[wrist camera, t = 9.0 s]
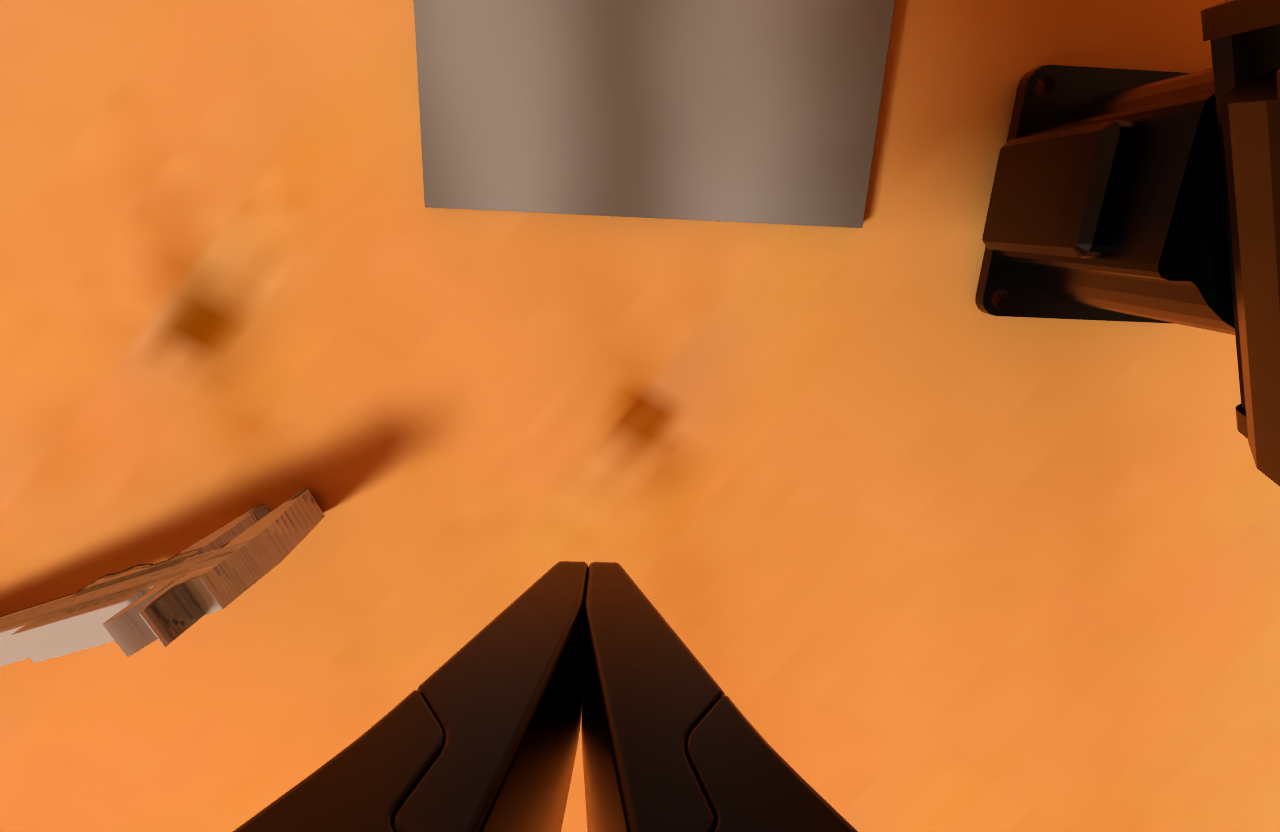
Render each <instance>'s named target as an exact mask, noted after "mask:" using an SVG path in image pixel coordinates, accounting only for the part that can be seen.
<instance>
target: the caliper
mask: <svg viewBox="0 0 1280 832" xmlns="http://www.w3.org/2000/svg"><path fill="white" fill-rule="evenodd" d="M323 518H324V514H323V512H322V511H321V509H320V507H319V506H318V504H317V502H316V501H315V499H314V497H313V496H312V494H311V492H310V491H309V490H308V489H304V490H300V491H299V492H298V493H296V494H295V495H294V496H292V497H291V498H289V499H288V500H287V501H285V502H284V503H283V504H281V505H280V506H278V507H277V508H276V509H274V510H273V511H271V512H270V511H269V509H268V508H267V506H266V504H263V505H261V506H258V507H256V508H253V509H251V510H249V511H247V512H246V513H244V514H242V515H241V516H239V517H237V518H236V519H234V520H233V521H231V522H229V523H228V524H226V525H224V526H223V527H221V528H219V529H218V530H216V531H214V532H213V533H211V534H210V535H208V536H206V537H205V538H203V539H201V540H200V541H198V542H196V543H195V544H193V545H191V546H190V547H188V548H187V549H185V550H183V551H182V552H180V553H178V554H177V555H175V556H173V557H172V558H170V559H168V560H166V561H163V562H160V563H157V564H154V565H153V564H141V565H136V566H134V567H131V568H129V569H126V570H124V571H121V572H118V573H112V574H107V575H105V576H102V577H100V578H98V579H97V580H95V581H94V582H92V583H90V584H89V585H87V586H86V587H84V588H82V589H81V590H79V591H78V592H76V593H74V594H71V595H67V596H64V597H61V598H58V599H55V600H52V601H48V602H45V603H42V604H39V605H36V606H33V607H29V608H26V609H23V610H20V611H17V612H14V613H11V614H7V615H4V616H1V617H0V666H3V665H6V664H10V663H13V662H17V661H20V660H24V659H27V658H30V659H31V660H32V661H33V662H34V663H36V662H40V661H44V660H47V659H51V658H55V657H58V656H62V655H66V654H69V653H73V652H77V651H81V650H84V649H88V648H92V647H95V646H99V645H103V644H106V643H110V642H114V641H116V643H117V644H118V645H119V646H120V648H121V649H122V650H123V652H124V653H125V654H126V655H127V657H128V656H130V655H132V654H134V653H136V652H137V651H139V650H140V649H142V648H144V647H145V646H147V645H148V644H150V643H151V642H153V641H155V640H156V639H159V641H160V642H161V643H162V645H163V646H164V647H166V646H167V645H168V644H170V643H171V642H172V641H173V640H175V639H176V638H177V637H178V636H179V635H181V634H182V633H183V632H184V631H185V630H187V629H188V628H189V627H190V626H192V625H193V624H194V623H195V622H196V621H198V620H199V619H200V618H201V617H202V616H204V615H206V614H209V613H212V612H215V611H218V610H222V609H224V608H225V607H226V606H227V605H229V604H230V603H231V602H232V601H233V600H235V599H236V598H237V597H238V596H240V595H241V594H242V593H243V592H244V591H246V590H247V589H248V588H249V587H251V586H252V585H253V584H254V583H256V582H257V581H258V580H259V579H260V578H262V577H263V576H264V575H265V574H267V573H268V572H269V571H270V570H271V569H273V568H274V567H275V566H276V565H278V564H279V563H280V562H281V561H282V560H283V559H284V558H285V557H286V556H287V555H288V554H289V553H290V552H291V551H292V550H293V549H294V548H295V547H296V546H297V545H298V544H299V543H300V542H301V541H302V540H303V539H304V538H305V537H306V536H307V535H308V533H309V532H310V531H311V530H312V529H313V528H314V527H315V526H316V525H317V524H318V523H319V522H320V521H321V520H322V519H323Z"/></svg>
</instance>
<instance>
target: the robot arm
mask: <svg viewBox="0 0 1280 832" xmlns="http://www.w3.org/2000/svg"><path fill="white" fill-rule="evenodd" d="M1201 20H1202V31H1203V41H1207V40H1211V51H1212V63H1213V68H1210V69H1206V70H1202V71H1198V72H1194V73H1179V72H1162V71H1145V70H1128V69H1111V68H1094V67H1077V66H1060V65H1046V66H1041V67H1038V68H1035V69H1033V70H1031V71H1029V72H1028V73H1026V74H1025V75H1024V77H1023V78H1022V79H1021V80H1020V83H1019V86H1018V88H1017V93H1016V98H1015V103H1014V108H1013V113H1012V118H1011V123H1010V128H1009V133H1008V138H1007V143H1006V144H1005V145H1004V146H1003V147H1002V148H1001V149H1000V153H999V158H998V163H997V168H996V173H995V178H994V183H993V188H992V193H991V198H990V203H989V208H988V213H987V218H986V223H985V228H984V233H983V242H984V244H985V245H986V247H985V252H984V257H983V262H982V267H981V272H980V277H979V282H978V287H977V292H976V305H977V307H978V309H979V310H981V311H982V312H984V313H987V314H991V315H995V316H1012V317H1036V318H1059V319H1083V320H1107V321H1130V322H1154V323H1176V324H1182V325H1187V326H1192V327H1197V328H1202V329H1207V330H1212V331H1217V332H1222V333H1227V334H1232V335H1236V346H1237V358H1238V370H1239V382H1240V394H1241V404H1240V405H1237V407H1236V418H1237V429H1238V431H1239V432H1240V433H1241V434H1243V435H1244V436H1245V437H1246V438H1247V439H1248V442H1249V446H1250V449H1251V452H1252V455H1253V458H1254V461H1255V464H1256V467H1257V469H1259V470H1260V471H1261V472H1262V473H1264V474H1265V475H1266V476H1267V477H1269V478H1270V479H1271V480H1272V481H1274V482H1275V483H1276V484H1277V485H1279V486H1280V0H1227V1H1224V2H1222V3H1219V4H1217V5H1214V6H1211V7H1209V8H1206V9H1204V10H1202V11H1201ZM1039 79H1041V80H1043V82H1044V83H1045V91H1044V93H1043V95H1042V96H1038V94H1037V93H1036V84H1037V81H1038V80H1039ZM997 290H999V291H1000V292H1001V298H1000V300H999V302H998V303H996V304H995V305H993V304H992V303H991V297H992V295H993V293H995V292H996V291H997ZM581 714H582V752H583V767H584V782H585V797H586V812H587V827H588V832H858V831H857V830H856V829H855V828H854V827H853V826H852V825H851V824H849V823H848V822H847V821H846V820H845V819H844V818H843V817H842V816H841V815H840V814H839V813H838V812H837V811H836V810H835V809H834V808H833V807H832V806H831V805H830V804H829V803H828V802H827V801H826V800H824V799H823V798H822V797H821V796H820V795H819V794H818V793H817V792H816V791H815V790H814V789H813V788H812V787H811V786H810V785H809V784H808V783H807V782H806V781H805V780H804V779H803V778H802V777H801V776H800V775H799V774H798V773H797V772H796V771H795V770H794V769H793V768H792V767H791V766H790V765H789V764H788V763H787V762H786V761H785V760H784V759H783V758H782V757H781V756H780V755H779V754H778V753H777V752H776V751H775V750H774V749H773V748H772V747H771V746H770V745H769V744H768V743H767V742H766V741H765V740H764V738H763V737H762V736H761V735H760V734H759V733H758V732H757V730H756V729H755V728H754V727H753V726H752V725H751V724H750V722H749V721H748V720H747V719H746V718H745V717H744V716H743V714H742V713H741V712H740V711H739V710H738V708H737V707H736V706H735V705H734V703H733V702H732V701H731V700H730V698H729V697H728V696H725V693H724V692H723V690H722V689H721V688H720V687H719V685H718V684H717V683H716V682H715V681H714V679H713V678H712V677H711V676H710V674H709V673H708V672H707V671H706V670H705V668H704V667H703V666H702V665H701V663H700V662H699V661H698V660H697V659H696V657H695V656H694V655H693V654H692V652H691V651H690V650H689V649H688V648H687V646H686V645H685V644H684V643H683V641H682V640H681V639H680V638H679V637H678V635H677V634H676V633H675V632H674V630H673V629H672V628H671V627H670V625H669V624H668V623H667V622H666V621H665V619H664V618H663V617H662V616H661V614H660V613H659V612H658V611H657V610H656V608H655V607H654V606H653V605H652V603H651V602H650V601H649V600H648V599H647V597H646V596H645V595H644V594H643V592H642V591H641V590H640V589H639V588H638V586H637V585H636V584H635V583H634V581H633V580H632V579H631V578H630V577H629V575H628V574H627V573H626V572H625V570H624V569H623V568H622V567H621V566H620V565H619V564H618V563H610V562H593V563H591V564H590V565H589V569H588V565H587V564H586V563H585V562H570V561H561V562H558V563H557V564H556V565H554V566H553V567H552V568H551V569H550V570H549V571H548V572H547V573H545V574H544V575H543V576H542V577H541V578H540V579H539V580H538V581H537V582H535V583H534V584H533V585H532V586H531V587H530V588H529V589H528V590H526V591H525V592H524V593H523V594H522V595H521V596H520V597H519V598H517V599H516V600H515V601H514V602H513V603H512V604H511V605H510V606H508V607H507V608H506V609H505V610H504V611H503V612H502V613H501V614H500V615H498V616H497V617H496V618H495V619H494V620H493V621H492V622H491V623H489V624H488V625H487V626H486V627H485V628H484V629H483V630H482V631H480V632H479V633H478V634H477V635H476V636H475V637H474V638H473V639H472V640H470V641H469V642H468V643H467V644H466V645H465V646H464V647H463V648H461V649H460V650H459V651H458V652H457V653H456V654H455V655H454V656H452V657H451V658H450V659H449V660H448V661H447V662H446V663H445V664H443V665H442V666H441V667H440V668H439V669H438V670H437V671H436V672H435V673H433V674H432V675H431V676H430V677H429V678H428V679H427V680H426V681H424V682H423V683H422V684H421V685H420V686H419V687H418V690H415V691H413V692H412V693H411V694H410V695H408V696H407V697H406V698H405V699H404V700H403V701H402V702H401V703H399V704H398V705H397V706H396V707H395V708H394V709H393V710H391V711H390V712H389V713H388V714H387V715H386V716H384V717H383V718H382V719H381V720H380V721H378V722H377V723H376V724H375V725H374V726H372V727H371V728H370V729H369V730H368V731H367V732H365V733H364V734H363V735H362V736H361V737H359V738H358V739H357V740H356V741H354V742H353V743H352V744H350V745H349V746H348V747H346V748H345V749H344V750H343V751H341V752H340V753H339V754H337V755H336V756H335V757H333V758H332V759H331V760H329V761H328V762H327V763H326V764H324V765H323V766H322V767H320V768H319V769H318V770H316V771H315V772H314V773H312V774H311V775H310V776H308V777H307V778H306V779H304V780H303V781H301V782H300V783H299V784H297V785H296V786H295V787H293V788H292V789H291V790H289V791H288V792H286V793H285V794H284V795H282V796H281V797H280V798H278V799H277V800H275V801H274V802H273V803H271V804H270V805H269V806H267V807H266V808H265V809H263V810H262V811H260V812H259V813H258V814H256V815H255V816H254V817H252V818H251V819H250V820H248V821H247V822H245V823H244V824H243V825H241V826H240V827H239V828H237V829H236V830H234V831H233V832H561V828H562V823H563V818H564V813H565V807H566V802H567V797H568V792H569V787H570V782H571V776H572V771H573V766H574V761H575V756H576V750H577V745H578V739H579V732H580V724H581Z"/></svg>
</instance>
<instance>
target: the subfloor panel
mask: <svg viewBox="0 0 1280 832" xmlns="http://www.w3.org/2000/svg"><path fill="white" fill-rule="evenodd" d="M894 4H895V0H414V11H415V30H416V49H417V68H418V87H419V106H420V125H421V143H422V162H423V181H424V200H425V207H432V208H453V209H474V210H495V211H516V212H537V213H558V214H579V215H600V216H621V217H642V218H663V219H684V220H705V221H726V222H747V223H768V224H789V225H810V226H831V227H852V228H862V226H863V219H864V213H865V206H866V199H867V192H868V185H869V178H870V171H871V164H872V157H873V150H874V143H875V136H876V129H877V122H878V115H879V108H880V101H881V94H882V88H883V81H884V74H885V67H886V60H887V53H888V46H889V39H890V32H891V25H892V18H893V11H894Z"/></svg>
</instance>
